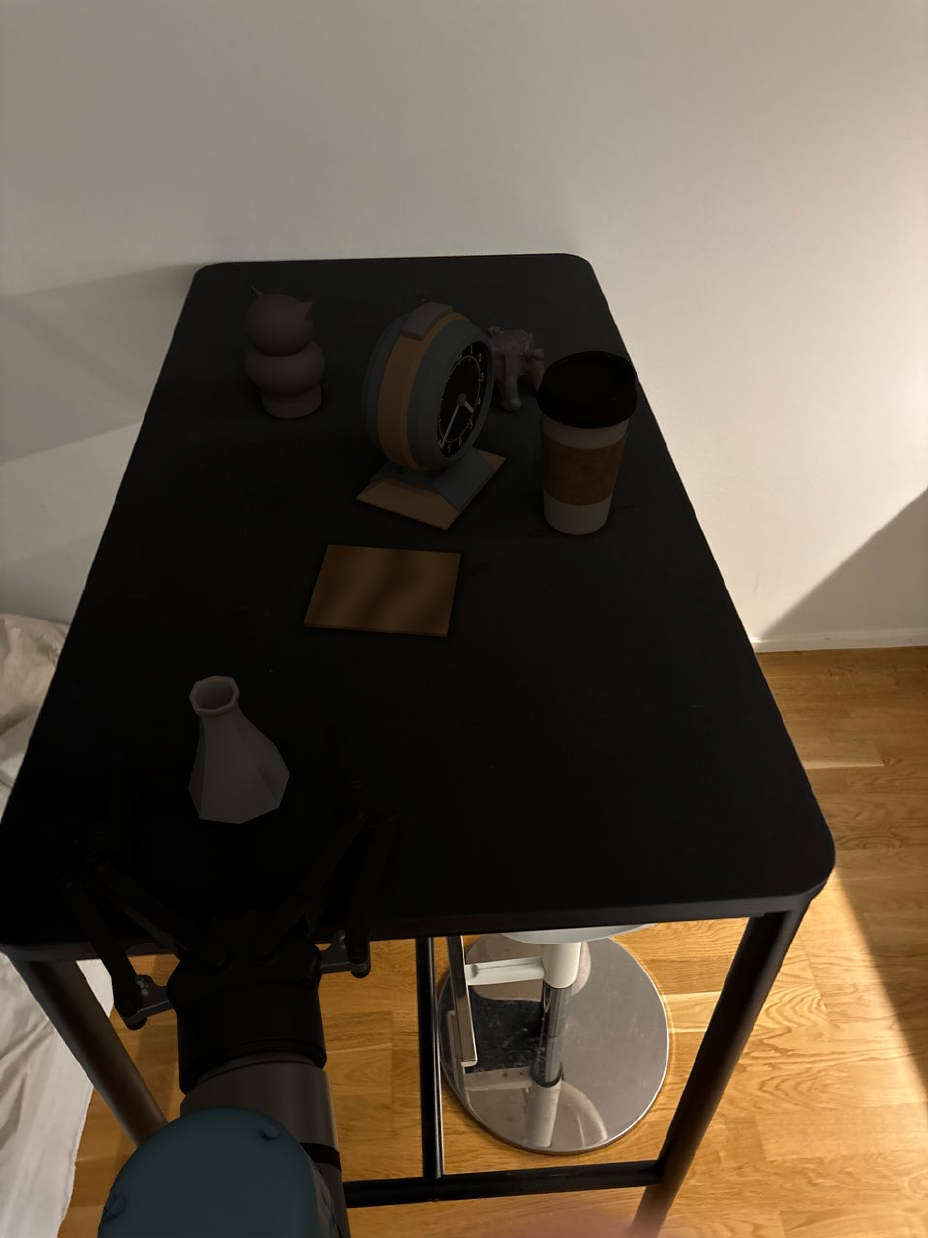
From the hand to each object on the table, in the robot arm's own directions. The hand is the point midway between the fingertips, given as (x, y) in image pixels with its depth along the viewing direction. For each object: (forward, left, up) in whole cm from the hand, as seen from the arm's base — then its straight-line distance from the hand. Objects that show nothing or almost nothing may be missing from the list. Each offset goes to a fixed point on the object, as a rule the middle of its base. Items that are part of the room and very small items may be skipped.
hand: (227, 757), depth 65 cm
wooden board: (+6, +23, -6) cm, 25 cm away
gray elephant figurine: (+13, +53, -6) cm, 55 cm away
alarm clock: (+8, +39, -6) cm, 40 cm away
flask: (-1, +2, -6) cm, 6 cm away
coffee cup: (+22, +35, -6) cm, 42 cm away
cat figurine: (-9, +51, -6) cm, 52 cm away
